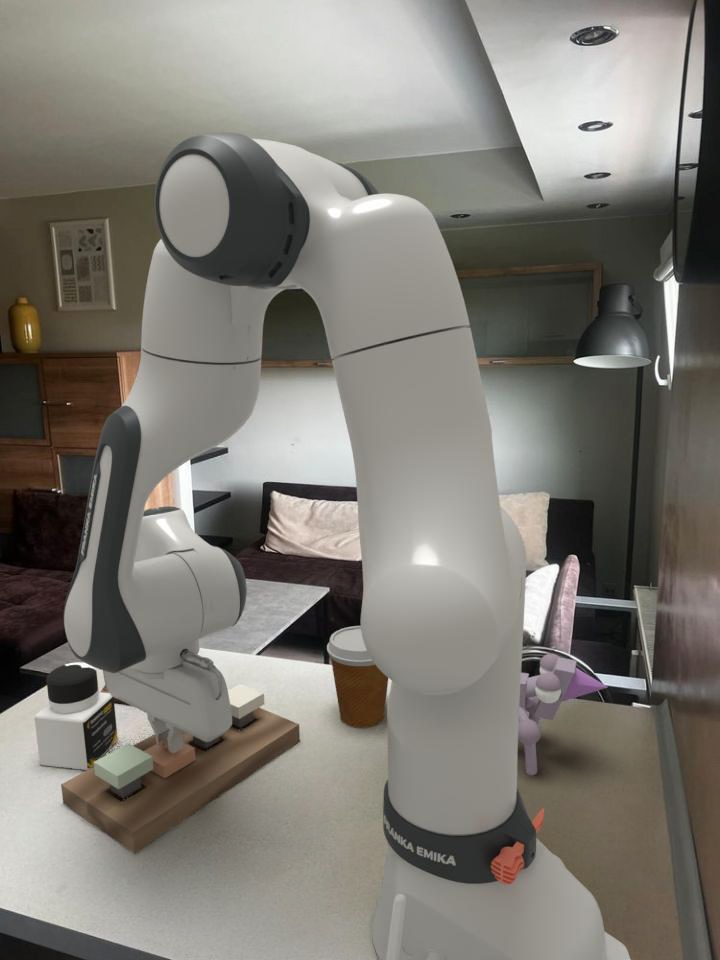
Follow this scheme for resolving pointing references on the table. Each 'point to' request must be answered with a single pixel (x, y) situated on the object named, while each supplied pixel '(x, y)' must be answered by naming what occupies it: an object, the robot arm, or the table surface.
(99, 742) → the medicine bottle
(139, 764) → the key sage
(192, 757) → the key terracotta
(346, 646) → the disposable coffee cup
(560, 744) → the table surface
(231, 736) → the wooden board
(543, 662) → the purple toy figure
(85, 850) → the table surface
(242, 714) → the key ivory
